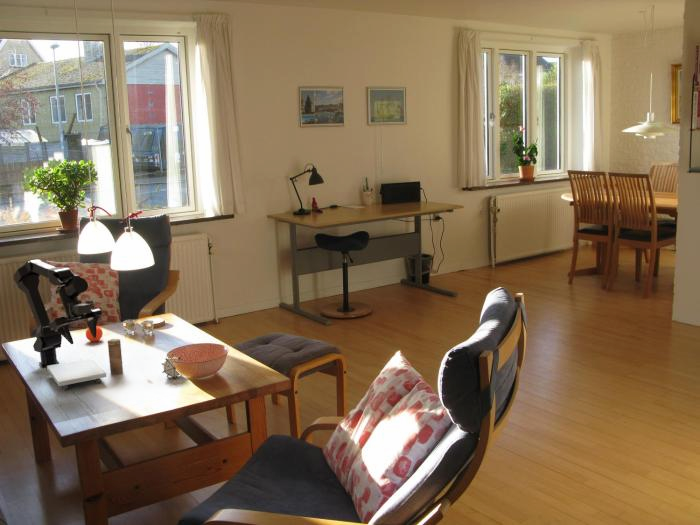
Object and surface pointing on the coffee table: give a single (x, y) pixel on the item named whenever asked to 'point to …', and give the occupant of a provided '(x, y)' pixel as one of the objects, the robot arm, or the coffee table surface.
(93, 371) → the caster cart
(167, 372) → the grey spiky ball
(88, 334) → the clementine
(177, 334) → the coffee table surface
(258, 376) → the coffee table surface
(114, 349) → the cylinder
